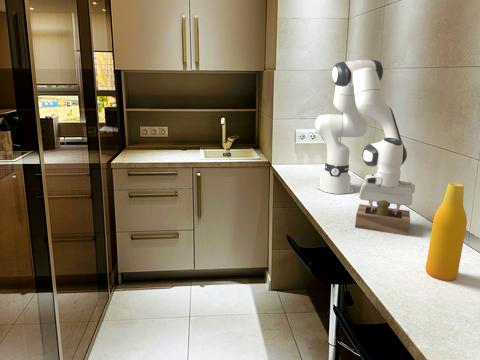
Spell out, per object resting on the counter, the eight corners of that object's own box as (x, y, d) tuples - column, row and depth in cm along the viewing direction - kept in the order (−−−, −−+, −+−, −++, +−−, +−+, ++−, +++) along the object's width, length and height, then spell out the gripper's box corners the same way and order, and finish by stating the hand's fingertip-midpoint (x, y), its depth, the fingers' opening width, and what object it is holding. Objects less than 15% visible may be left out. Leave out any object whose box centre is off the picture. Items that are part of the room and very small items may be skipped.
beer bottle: (454, 284, 132) (471, 190, 125) (422, 275, 137) (436, 184, 129) (459, 273, 139) (475, 184, 132) (428, 265, 144) (442, 178, 137)
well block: (358, 216, 190) (359, 204, 188) (407, 223, 183) (409, 210, 182) (354, 227, 176) (356, 214, 174) (408, 235, 170) (410, 222, 168)
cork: (377, 220, 184) (380, 195, 181) (391, 225, 180) (394, 199, 177) (370, 224, 180) (373, 198, 177) (383, 228, 176) (387, 201, 173)
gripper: (415, 181, 175) (410, 214, 178) (362, 174, 181) (358, 207, 184) (416, 184, 169) (411, 219, 172) (360, 178, 175) (357, 211, 179)
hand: (383, 212), depth 178 cm, fingers open, 7 cm apart
